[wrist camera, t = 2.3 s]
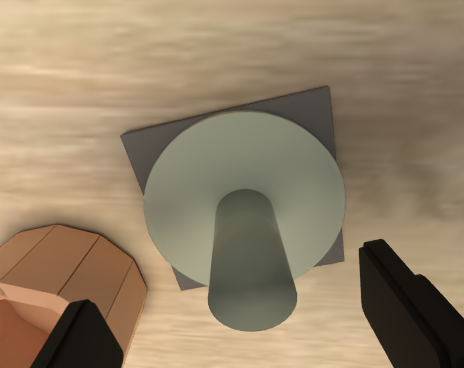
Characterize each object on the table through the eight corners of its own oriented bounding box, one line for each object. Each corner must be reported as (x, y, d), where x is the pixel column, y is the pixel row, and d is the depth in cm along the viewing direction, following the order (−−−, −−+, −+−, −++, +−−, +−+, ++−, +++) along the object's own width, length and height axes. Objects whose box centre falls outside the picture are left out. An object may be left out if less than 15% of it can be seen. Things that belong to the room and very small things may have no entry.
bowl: (112, 213, 18) (71, 268, 13) (163, 326, 22) (146, 398, 17) (-35, 243, 18) (-121, 305, 14) (41, 346, 22) (-7, 421, 18)
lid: (329, 87, 14) (415, 114, 8) (344, 261, 19) (406, 373, 12) (120, 135, 15) (36, 197, 9) (181, 290, 20) (156, 409, 13)
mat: (326, 86, 15) (329, 87, 14) (341, 256, 19) (344, 261, 19) (123, 133, 16) (120, 135, 15) (182, 285, 20) (181, 290, 20)
